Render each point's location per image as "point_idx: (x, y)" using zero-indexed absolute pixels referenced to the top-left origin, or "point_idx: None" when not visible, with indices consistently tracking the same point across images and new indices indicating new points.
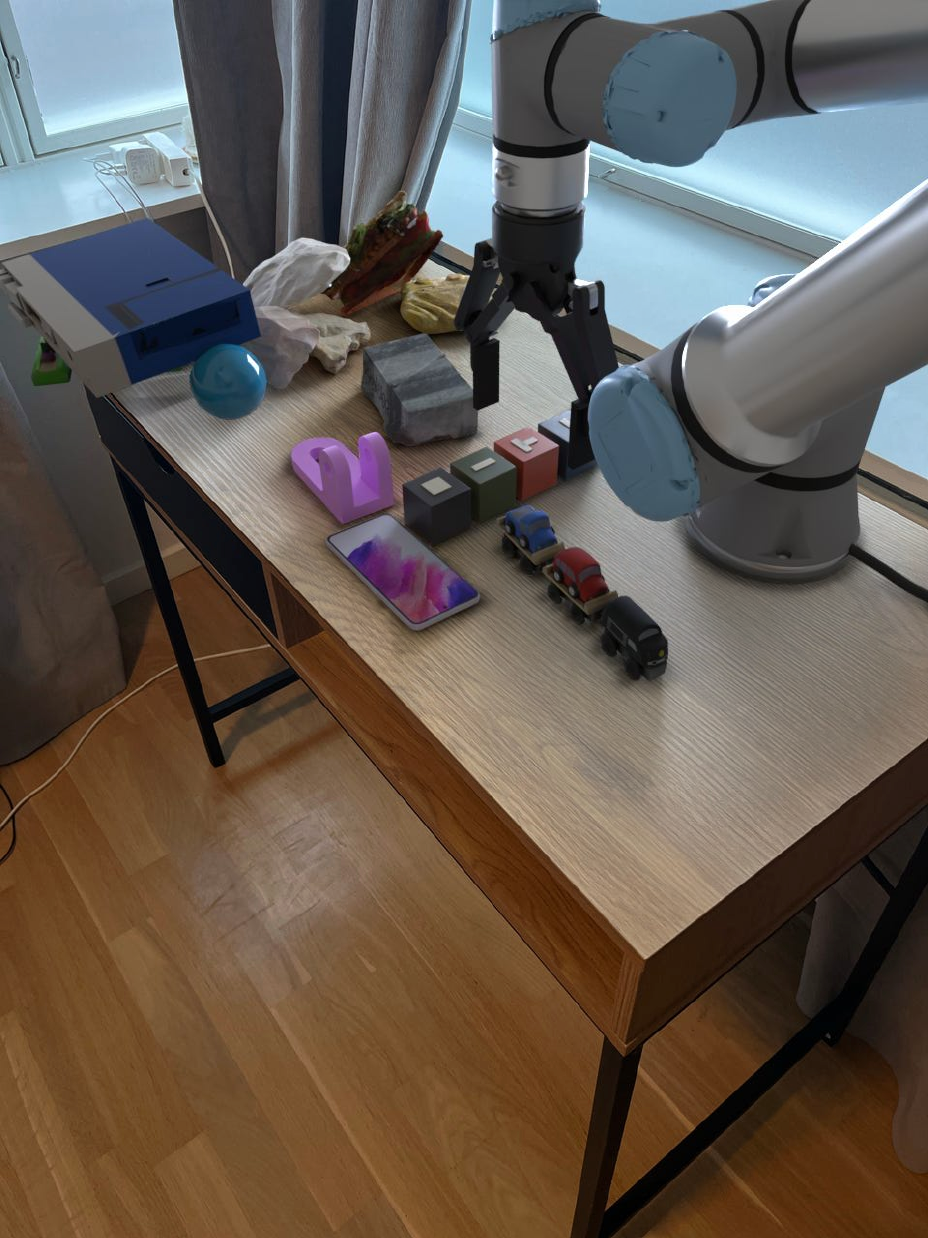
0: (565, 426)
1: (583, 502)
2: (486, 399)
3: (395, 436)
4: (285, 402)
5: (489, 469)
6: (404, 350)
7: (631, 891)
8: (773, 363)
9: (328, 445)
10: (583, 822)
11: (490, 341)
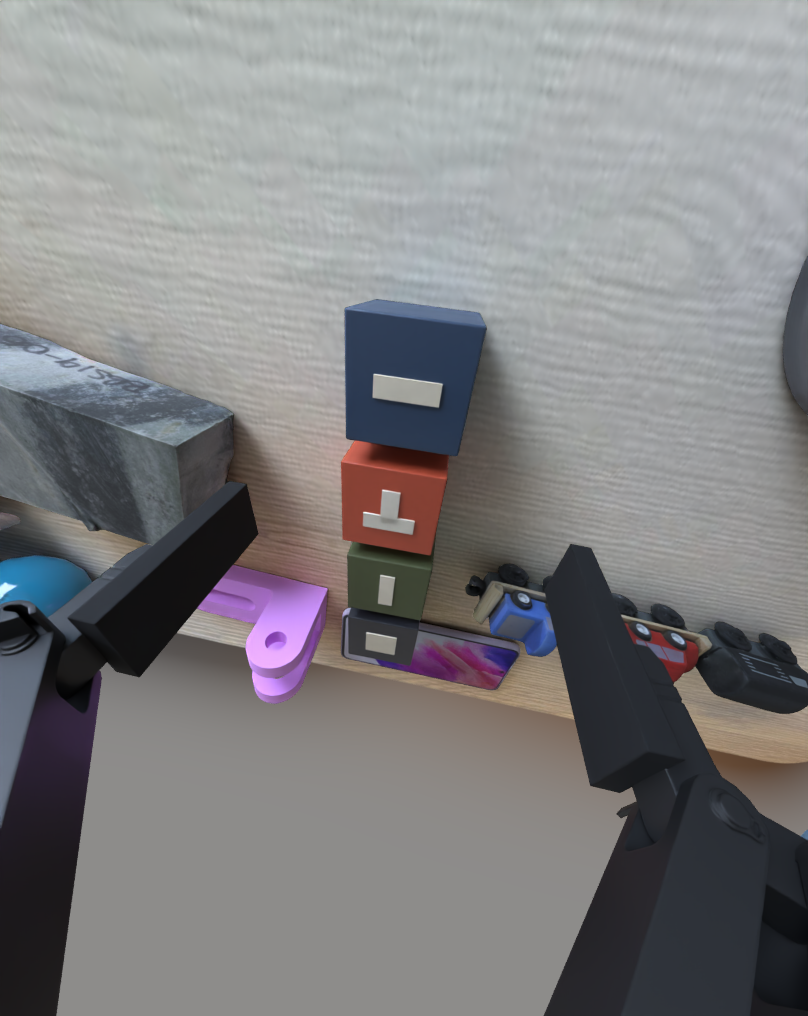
0: (402, 404)
1: (524, 445)
2: (242, 526)
3: None
4: (53, 523)
5: (402, 593)
6: None
7: (776, 752)
8: None
9: None
10: (722, 734)
11: (95, 638)
